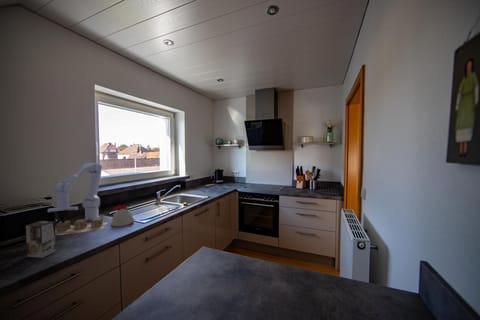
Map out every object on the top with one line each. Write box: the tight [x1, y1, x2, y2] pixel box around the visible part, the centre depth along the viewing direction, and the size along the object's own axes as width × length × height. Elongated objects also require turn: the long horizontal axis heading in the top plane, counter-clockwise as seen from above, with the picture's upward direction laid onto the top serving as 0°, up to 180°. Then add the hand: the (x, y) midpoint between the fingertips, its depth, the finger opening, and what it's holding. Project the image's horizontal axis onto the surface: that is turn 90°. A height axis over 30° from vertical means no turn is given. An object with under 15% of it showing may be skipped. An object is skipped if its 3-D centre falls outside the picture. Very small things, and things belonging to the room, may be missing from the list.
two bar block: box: [90, 217, 104, 228], centre depth 125 cm, size 5×5×5 cm
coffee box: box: [25, 220, 57, 259], centre depth 92 cm, size 9×6×16 cm
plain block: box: [55, 220, 71, 232], centre depth 118 cm, size 5×5×5 cm
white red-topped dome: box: [110, 204, 135, 228], centre depth 131 cm, size 14×14×15 cm
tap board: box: [55, 221, 110, 236], centre depth 121 cm, size 16×28×1 cm, turn 113°
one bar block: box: [73, 218, 88, 230], centre depth 121 cm, size 5×5×5 cm
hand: (63, 221), depth 118 cm, fingers closed
